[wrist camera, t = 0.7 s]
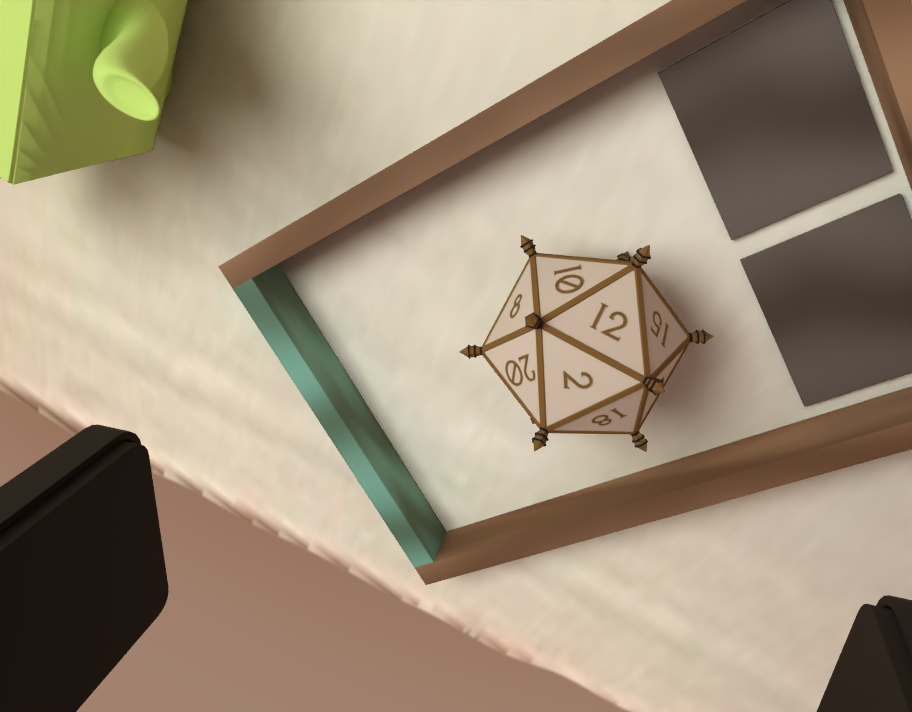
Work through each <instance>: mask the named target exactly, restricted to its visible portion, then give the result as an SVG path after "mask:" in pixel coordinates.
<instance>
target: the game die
mask: <svg viewBox="0 0 912 712" xmlns="http://www.w3.org/2000/svg"><path fill="white" fill-rule="evenodd" d="M532 241H533V239H532V240H530V239H528V238H526V237H524V236H522V235H521V246H520V247H521V248H523V249H524V253H525V252H526V253H527V254H528V255H529V259H528V261H527V263H526V265H525V267H524V269H523V271H522V272H521V274H520V276H519V278H518V280H517V282H516V284H515V285H514V287H513V289H512V291H511V293H510V295H509V297H508V299H507V300H506V302H505V304H504V306H503V308H502V310H501V312H500V314H499V315H498V317H497V319H496V321H495V323H494V325H493V327H492V329H491V330H490V332H489V334H488V336H487V338H486V340H485V342H484V344H483V345H482V347H478V346H476V345H474V346H470V345H468V347H466V348H465V349H463V350H461V351H460V353H462V354H464V355H466V356H467V357H469V359H470V357H475V358H476V356H479V355H483V357H484V358H485V359H486V360H487V362H488V363H489V364H490V366H491V367H492V368H493V369H494V371H495V372H496V373H497V375H498V376H499V377H500V378H501V380H502V381H503V382H504V384H505V385H506V386H507V387H508V389H509V390H510V391H511V393H512V394H513V395H514V397H515V398H516V399H517V400H518V402H519V403H520V404H521V406H522V407H523V408H524V409H525V411H526V412H527V413H528V415H529V416H530V417H531V420H532V424H534V423H535V424H536V425H537V426H538V427H539V429H540V430H539V431H538V432H536V433H535V437H534V438H532V442H533V443H534V452H535V451H536V450H538V449H540V448H541V447H543V446H546V444H545V443H546V441H548V438H547V436H548V433H583V434H631V435H632V438H633V440H632V442H634V443H635V447H638V448H640V449H642V450H644V451H646V452H647V442H648V441H647V440H646V439H645V438H644V437H645V436H644V435H643V434H641V433H640V432H639V429H640V428H641V426H642V424H643V422H644V421H645V419H646V417H647V416H648V414H649V412H650V410H651V409H652V407H653V405H654V403H655V402H656V400H657V398H658V397H659V395H660V393H662V392H665V391H664V386H665V384H666V383H667V381H668V379H669V377H670V376H671V374H672V372H673V371H674V369H675V367H676V365H677V364H678V362H679V360H680V358H681V357H682V355H683V353H684V352H685V350H686V348H687V346H688V345H689V343H690V342H695V343H697V344H699V343H703V344H705V342H706V341H708V340H709V339H711V338H712V337H714V336H712V335H710V334H708V333H707V332H705V331H704V330H703V329H702V331H697V330H696V331H695V332H693V333H689V332H688V331H687V330H686V328H685V327H684V326H683V324H682V323H681V321H680V320H679V319H678V317H677V316H676V314H675V313H674V312H673V310H672V309H671V308H670V306H669V305H668V303H667V302H666V301H665V299H664V298H663V297H662V295H661V294H660V292H659V291H658V290H657V288H656V287H655V286H654V284H653V283H652V281H651V280H650V279H649V277H648V276H647V275H646V273H645V272H644V270H643V269H642V268H641V266H642V265H643V264H647V260H648V259H651V257H650V245H648V246H646V247H644V248H639V249H638V250H637V251H636V252H637V253H636V254H635V255H634V256H633V258H634V260H633V262H631V261H630V257H629V255H628V252H625V253H624V254H623V253H622V254H620V255H618V256H617V257H618V259H617V260H609V259H597V258H586V257H575V256H564V255H553V254H542V253H537V252H536V251H535V246H536V245H534V244H533V242H532Z"/></svg>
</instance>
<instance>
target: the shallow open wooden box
mask: <svg viewBox="0 0 912 712" xmlns="http://www.w3.org/2000/svg"><path fill="white" fill-rule="evenodd" d="M744 1H746V0H672V1H670V2H668V3H666V4H665V5H663V6H661V7H660V8H658V9H656V10H655V11H653V12H651V13H649V14H648V15H646V16H644V17H643V18H641V19H639V20H638V21H636V22H634V23H632V24H631V25H629V26H627V27H626V28H624V29H622V30H620V31H619V32H617V33H615V34H614V35H612V36H610V37H609V38H607V39H605V40H603V41H602V42H600V43H598V44H597V45H595V46H593V47H592V48H590V49H588V50H586V51H585V52H583V53H581V54H580V55H578V56H576V57H574V58H573V59H571V60H569V61H568V62H566V63H564V64H563V65H561V66H559V67H557V68H556V69H554V70H552V71H551V72H549V73H547V74H546V75H544V76H542V77H540V78H539V79H537V80H535V81H534V82H532V83H530V84H529V85H527V86H525V87H523V88H522V89H520V90H518V91H517V92H515V93H513V94H511V95H510V96H508V97H506V98H505V99H503V100H501V101H500V102H498V103H496V104H494V105H493V106H491V107H489V108H488V109H486V110H484V111H483V112H481V113H479V114H477V115H476V116H474V117H472V118H471V119H469V120H467V121H465V122H464V123H462V124H460V125H459V126H457V127H455V128H454V129H452V130H450V131H448V132H447V133H445V134H443V135H442V136H440V137H438V138H437V139H435V140H433V141H431V142H430V143H428V144H426V145H425V146H423V147H421V148H419V149H418V150H416V151H414V152H413V153H411V154H409V155H408V156H406V157H404V158H402V159H401V160H399V161H397V162H396V163H394V164H392V165H391V166H389V167H387V168H385V169H384V170H382V171H380V172H379V173H377V174H375V175H373V176H372V177H370V178H368V179H367V180H365V181H363V182H362V183H360V184H358V185H356V186H355V187H353V188H351V189H350V190H348V191H346V192H345V193H343V194H341V195H339V196H338V197H336V198H334V199H333V200H331V201H329V202H327V203H326V204H324V205H322V206H321V207H319V208H317V209H316V210H314V211H312V212H310V213H309V214H307V215H305V216H304V217H302V218H300V219H299V220H297V221H295V222H293V223H292V224H290V225H288V226H287V227H285V228H283V229H281V230H280V231H278V232H276V233H275V234H273V235H271V236H270V237H268V238H266V239H264V240H263V241H261V242H259V243H258V244H256V245H254V246H253V247H251V248H249V249H247V250H246V251H244V252H242V253H241V254H239V255H237V256H236V257H234V258H232V259H230V260H229V261H227V262H225V263H224V264H222V265H220V266H218V267H219V268H220V270H221V271H222V273H223V274H224V276H225V277H226V279H227V280H228V282H229V284H230V285H231V287H232V288H233V290H234V291H235V293H236V294H237V296H238V297H239V299H240V300H241V302H242V303H243V305H244V307H245V308H246V310H247V311H248V313H249V314H250V316H251V317H252V319H253V320H254V322H255V323H256V325H257V327H258V328H259V330H260V331H261V333H262V334H263V336H264V337H265V339H266V340H267V342H268V343H269V345H270V346H271V348H272V350H273V351H274V353H275V354H276V356H277V357H278V359H279V360H280V362H281V363H282V365H283V366H284V368H285V369H286V371H287V373H288V374H289V376H290V377H291V379H292V380H293V382H294V383H295V385H296V386H297V388H298V389H299V391H300V392H301V394H302V396H303V397H304V399H305V400H306V402H307V403H308V405H309V406H310V408H311V409H312V411H313V412H314V414H315V415H316V417H317V419H318V420H319V422H320V423H321V425H322V426H323V428H324V429H325V431H326V432H327V434H328V435H329V437H330V439H331V440H332V442H333V443H334V445H335V446H336V448H337V449H338V451H339V452H340V454H341V455H342V457H343V458H344V460H345V462H346V463H347V465H348V466H349V468H350V469H351V471H352V472H353V474H354V475H355V477H356V478H357V480H358V481H359V483H360V485H361V486H362V488H363V489H364V491H365V492H366V494H367V495H368V497H369V498H370V500H371V501H372V503H373V504H374V506H375V508H376V509H377V511H378V512H379V514H380V515H381V517H382V518H383V520H384V521H385V523H386V524H387V526H388V527H389V529H390V531H391V532H392V534H393V535H394V537H395V538H396V540H397V541H398V543H399V544H400V546H401V547H402V549H403V551H404V552H405V554H406V555H407V557H408V558H409V560H410V561H411V563H412V564H413V566H414V567H415V569H416V570H417V572H418V574H419V575H420V577H421V578H422V580H423V581H424V583H425V584H426V585H427V584H431V583H435V582H438V581H442V580H445V579H449V578H452V577H456V576H460V575H463V574H467V573H470V572H474V571H477V570H481V569H485V568H488V567H492V566H495V565H499V564H503V563H506V562H510V561H513V560H517V559H520V558H524V557H528V556H531V555H535V554H538V553H542V552H545V551H549V550H553V549H556V548H560V547H563V546H567V545H570V544H574V543H578V542H581V541H585V540H588V539H592V538H595V537H599V536H603V535H606V534H610V533H613V532H617V531H620V530H624V529H628V528H631V527H635V526H638V525H642V524H645V523H649V522H653V521H656V520H660V519H663V518H667V517H670V516H674V515H678V514H681V513H685V512H688V511H692V510H695V509H699V508H703V507H706V506H710V505H713V504H717V503H720V502H724V501H728V500H731V499H735V498H738V497H742V496H745V495H749V494H753V493H756V492H760V491H763V490H767V489H770V488H774V487H778V486H781V485H785V484H788V483H792V482H795V481H799V480H803V479H806V478H810V477H813V476H817V475H820V474H824V473H828V472H831V471H835V470H838V469H842V468H846V467H849V466H853V465H856V464H860V463H863V462H867V461H871V460H874V459H878V458H881V457H885V456H888V455H892V454H896V453H899V452H903V451H906V450H910V449H912V387H909V388H906V389H902V390H899V391H896V392H893V393H890V394H886V395H883V396H880V397H877V398H874V399H870V400H867V401H864V402H861V403H858V404H854V405H851V406H848V407H845V408H842V409H838V410H835V411H832V412H829V413H826V414H822V415H819V416H816V417H813V418H809V419H806V420H803V421H800V422H797V423H793V424H790V425H787V426H784V427H781V428H777V429H774V430H771V431H768V432H765V433H761V434H758V435H755V436H752V437H749V438H745V439H742V440H739V441H736V442H733V443H729V444H726V445H723V446H720V447H717V448H713V449H710V450H707V451H704V452H701V453H697V454H694V455H691V456H688V457H685V458H681V459H678V460H675V461H672V462H669V463H665V464H662V465H659V466H656V467H653V468H649V469H646V470H643V471H640V472H637V473H633V474H630V475H627V476H624V477H621V478H617V479H614V480H611V481H608V482H605V483H601V484H598V485H595V486H592V487H589V488H585V489H582V490H579V491H576V492H573V493H569V494H566V495H563V496H560V497H557V498H553V499H550V500H547V501H544V502H541V503H537V504H534V505H531V506H528V507H525V508H521V509H518V510H515V511H512V512H509V513H505V514H502V515H499V516H496V517H493V518H489V519H486V520H483V521H480V522H477V523H473V524H470V525H467V526H464V527H461V528H457V529H454V530H451V531H448V532H446V531H445V529H444V528H443V526H442V525H441V523H440V521H439V520H438V518H437V517H436V515H435V513H434V512H433V510H432V509H431V507H430V505H429V504H428V502H427V501H426V499H425V497H424V496H423V494H422V493H421V491H420V489H419V488H418V486H417V485H416V483H415V481H414V480H413V478H412V477H411V475H410V473H409V472H408V470H407V469H406V467H405V466H404V464H403V462H402V461H401V459H400V458H399V456H398V454H397V453H396V451H395V450H394V448H393V446H392V445H391V443H390V442H389V440H388V438H387V437H386V435H385V434H384V432H383V430H382V429H381V427H380V426H379V424H378V422H377V421H376V419H375V418H374V416H373V414H372V413H371V411H370V410H369V408H368V406H367V405H366V403H365V402H364V400H363V399H362V397H361V395H360V394H359V392H358V391H357V389H356V387H355V386H354V384H353V383H352V381H351V379H350V378H349V376H348V375H347V373H346V371H345V370H344V368H343V367H342V365H341V363H340V362H339V360H338V359H337V357H336V355H335V354H334V352H333V351H332V349H331V347H330V346H329V344H328V343H327V341H326V339H325V338H324V336H323V335H322V333H321V332H320V330H319V328H318V327H317V325H316V324H315V322H314V320H313V319H312V317H311V316H310V314H309V312H308V311H307V309H306V308H305V306H304V304H303V303H302V301H301V300H300V298H299V296H298V295H297V293H296V292H295V290H294V288H293V287H292V285H291V284H290V282H289V280H288V279H287V277H286V276H285V274H284V272H283V271H282V269H281V268H280V266H279V265H278V263H280V262H282V261H284V260H285V259H287V258H289V257H291V256H293V255H294V254H296V253H298V252H300V251H301V250H303V249H305V248H307V247H309V246H310V245H312V244H314V243H316V242H317V241H319V240H321V239H323V238H325V237H326V236H328V235H330V234H332V233H333V232H335V231H337V230H339V229H341V228H342V227H344V226H346V225H348V224H349V223H351V222H353V221H355V220H357V219H358V218H360V217H362V216H364V215H365V214H367V213H369V212H371V211H373V210H374V209H376V208H378V207H380V206H381V205H383V204H385V203H387V202H389V201H390V200H392V199H394V198H396V197H398V196H399V195H401V194H403V193H405V192H406V191H408V190H410V189H412V188H414V187H415V186H417V185H419V184H421V183H422V182H424V181H426V180H428V179H430V178H431V177H433V176H435V175H437V174H438V173H440V172H442V171H444V170H446V169H447V168H449V167H451V166H453V165H454V164H456V163H458V162H460V161H462V160H463V159H465V158H467V157H469V156H470V155H472V154H474V153H476V152H478V151H479V150H481V149H483V148H485V147H486V146H488V145H490V144H492V143H494V142H495V141H497V140H499V139H501V138H502V137H504V136H506V135H508V134H510V133H511V132H513V131H515V130H517V129H518V128H520V127H522V126H524V125H526V124H527V123H529V122H531V121H533V120H535V119H536V118H538V117H540V116H542V115H543V114H545V113H547V112H549V111H551V110H552V109H554V108H556V107H558V106H559V105H561V104H563V103H565V102H567V101H568V100H570V99H572V98H574V97H575V96H577V95H579V94H581V93H583V92H584V91H586V90H588V89H590V88H591V87H593V86H595V85H597V84H599V83H600V82H602V81H604V80H606V79H607V78H609V77H611V76H613V75H615V74H616V73H618V72H620V71H622V70H623V69H625V68H627V67H629V66H631V65H632V64H634V63H636V62H638V61H639V60H641V59H643V58H645V57H647V56H648V55H650V54H652V53H654V52H655V51H657V50H659V49H661V48H663V47H664V46H666V45H668V44H670V43H672V42H673V41H675V40H677V39H679V38H680V37H682V36H684V35H686V34H688V33H689V32H691V31H693V30H695V29H696V28H698V27H700V26H702V25H704V24H705V23H707V22H709V21H711V20H712V19H714V18H716V17H718V16H720V15H721V14H723V13H725V12H727V11H728V10H730V9H732V8H734V7H736V6H737V5H739V4H741V3H743V2H744ZM844 3H845V6H846V9H847V12H848V14H849V17H850V20H851V23H852V25H853V28H854V31H855V34H856V37H857V39H858V42H859V45H860V48H861V51H862V53H863V56H864V59H865V62H866V64H867V67H868V70H869V73H870V76H871V78H872V81H873V84H874V87H875V90H876V92H877V95H878V98H879V101H880V103H881V106H882V109H883V112H884V115H885V117H886V120H887V123H888V126H889V129H890V131H891V134H892V137H893V140H894V142H895V145H896V148H897V151H898V154H899V156H900V159H901V162H902V165H903V168H904V170H905V173H906V176H907V179H908V181H909V184H910V187H911V190H912V3H911V0H844ZM658 74H659V76H660V79H661V81H662V83H663V85H664V88H665V90H666V92H667V95H668V97H669V99H670V101H671V104H672V106H673V108H674V111H675V113H676V115H677V117H678V120H679V122H680V124H681V126H682V129H683V131H684V133H685V136H686V138H687V140H688V142H689V145H690V147H691V149H692V152H693V154H694V156H695V158H696V161H697V163H698V165H699V168H700V170H701V172H702V174H703V177H704V179H705V181H706V183H707V186H708V188H709V190H710V193H711V195H712V197H713V199H714V202H715V204H716V206H717V209H718V211H719V213H720V215H721V218H722V220H723V222H724V225H725V227H726V229H727V231H728V234H729V236H730V238H731V240H733V239H736V238H738V237H740V236H743V235H745V234H747V233H750V232H752V231H754V230H757V229H759V228H761V227H764V226H766V225H768V224H771V223H773V222H775V221H778V220H780V219H782V218H785V217H787V216H789V215H792V214H794V213H796V212H799V211H801V210H803V209H806V208H808V207H810V206H813V205H815V204H817V203H820V202H822V201H824V200H827V199H829V198H831V197H834V196H836V195H838V194H841V193H843V192H845V191H848V190H850V189H852V188H855V187H857V186H859V185H862V184H864V183H866V182H869V181H871V180H873V179H876V178H878V177H880V176H883V175H885V174H887V173H889V172H892V171H893V170H892V167H891V164H890V161H889V159H888V156H887V153H886V150H885V148H884V145H883V142H882V139H881V137H880V134H879V131H878V128H877V126H876V123H875V120H874V117H873V115H872V112H871V109H870V106H869V104H868V101H867V98H866V95H865V93H864V90H863V87H862V84H861V82H860V79H859V76H858V73H857V71H856V68H855V65H854V62H853V60H852V57H851V54H850V51H849V49H848V46H847V43H846V40H845V38H844V35H843V32H842V29H841V27H840V24H839V21H838V18H837V16H836V13H835V10H834V7H833V5H832V2H831V0H790V1H788V2H786V3H784V4H783V5H781V6H779V7H777V8H775V9H773V10H772V11H770V12H768V13H766V14H764V15H763V16H761V17H759V18H757V19H755V20H753V21H752V22H750V23H748V24H746V25H744V26H742V27H741V28H739V29H737V30H735V31H733V32H732V33H730V34H728V35H726V36H724V37H722V38H721V39H719V40H717V41H715V42H713V43H711V44H710V45H708V46H706V47H704V48H702V49H701V50H699V51H697V52H695V53H693V54H691V55H690V56H688V57H686V58H684V59H682V60H680V61H679V62H677V63H675V64H673V65H671V66H670V67H668V68H666V69H664V70H662V71H660V72H659V73H658ZM740 261H741V263H742V266H743V268H744V270H745V272H746V275H747V277H748V279H749V281H750V284H751V286H752V288H753V291H754V293H755V295H756V297H757V300H758V302H759V304H760V307H761V309H762V311H763V313H764V316H765V318H766V320H767V323H768V325H769V327H770V329H771V332H772V334H773V336H774V338H775V341H776V343H777V345H778V348H779V350H780V352H781V354H782V357H783V359H784V361H785V364H786V366H787V368H788V370H789V373H790V375H791V377H792V379H793V382H794V384H795V386H796V389H797V391H798V393H799V395H800V398H801V400H802V402H803V405H804V407H805V406H808V405H811V404H814V403H818V402H821V401H824V400H827V399H830V398H833V397H836V396H839V395H843V394H846V393H849V392H852V391H855V390H858V389H861V388H864V387H868V386H871V385H874V384H877V383H880V382H883V381H886V380H889V379H893V378H896V377H899V376H902V375H905V374H908V373H911V372H912V222H911V219H910V216H909V214H908V211H907V208H906V205H905V203H904V200H903V197H902V195H901V194H897V195H895V196H892V197H890V198H887V199H885V200H883V201H880V202H878V203H875V204H873V205H871V206H868V207H866V208H863V209H861V210H859V211H856V212H854V213H851V214H849V215H847V216H844V217H842V218H839V219H837V220H835V221H832V222H830V223H827V224H825V225H823V226H820V227H818V228H815V229H813V230H810V231H808V232H806V233H803V234H801V235H798V236H796V237H794V238H791V239H789V240H786V241H784V242H782V243H779V244H777V245H774V246H772V247H770V248H767V249H765V250H762V251H760V252H758V253H755V254H753V255H750V256H748V257H746V258H743V259H741V260H740Z"/></svg>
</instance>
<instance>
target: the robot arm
mask: <svg viewBox="0 0 912 712" xmlns="http://www.w3.org/2000/svg"><path fill="white" fill-rule="evenodd" d="M167 597H168V582H167V575H166V568H165V561H164V555H163V547H162V541H161V534H160V528H159V520H158V514H157V507H156V500H155V493H154V486H153V480H152V473H151V466H150V459H149V454H148V450H147V449H146V447H145V446H143V445H141V442H140V439H139V438H138V436H137V435H136V434H134V433H132V432H129V431H125V430H120V429H115V428H111V427H106V426H102V425H91V426H89V427H87V428H85V429H84V430H82V431H81V432H79V433H78V434H76V435H75V436H73V437H72V438H71V439H69V440H68V441H67V442H65V443H63V444H62V445H61V446H59V447H58V448H56V449H55V450H53V451H52V452H50V453H49V454H48V455H46V456H45V457H43V458H42V459H40V460H39V461H37V462H36V463H35V464H33V465H32V466H30V467H29V468H27V469H26V470H24V471H23V472H22V473H20V474H19V475H17V476H16V477H14V478H13V479H11V480H10V481H9V482H7V483H6V484H4V485H3V486H1V487H0V712H76V711H77V710H78V709H79V708H80V706H81V705H82V704H83V703H84V702H85V701H86V699H87V698H88V697H89V696H90V695H91V694H92V692H93V691H94V690H95V689H96V688H97V686H98V685H99V684H100V683H101V682H102V681H103V679H105V677H106V676H107V675H108V674H109V672H111V670H112V669H113V668H114V667H115V666H116V665H117V663H118V662H119V661H120V660H121V659H122V658H123V656H124V655H125V654H126V653H127V651H129V649H130V648H131V647H132V646H133V645H134V644H135V642H136V641H137V640H138V639H139V638H140V636H141V635H142V634H143V633H144V632H145V630H147V628H148V627H149V626H150V625H151V624H152V623H153V621H154V620H155V619H156V618H157V617H158V616H159V614H160V613H161V611H162V609H163V608H164V606H165V603H166V600H167ZM817 712H912V600H908V599H903V598H898V597H894V596H883V597H882V598H881V599H880V600H879V601H878V603H877V605H876V606H874V605H870V604H864V605H863V606H862V607H861V608H860V609H859V611H858V613H857V616H856V618H855V621H854V623H853V625H852V628H851V630H850V633H849V635H848V637H847V640H846V642H845V645H844V647H843V649H842V652H841V654H840V657H839V659H838V661H837V664H836V666H835V669H834V671H833V674H832V676H831V678H830V681H829V683H828V686H827V688H826V690H825V693H824V695H823V698H822V700H821V702H820V705H819V707H818V710H817Z"/></svg>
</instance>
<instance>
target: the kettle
mask: <svg viewBox="0 0 912 712" xmlns="http://www.w3.org/2000/svg"><path fill="white" fill-rule="evenodd" d="M187 2H188V0H0V178H2V179H4V180H5V181H7V182H9V183H12V184H13V185H14V184H18V183H22V182H26V181H30V180H34V179H38V178H42V177H46V176H50V175H54V174H58V173H63V172H67V171H71V170H75V169H79V168H83V167H87V166H91V165H95V164H99V163H103V162H107V161H111V160H115V159H119V158H123V157H127V156H131V155H135V154H140V153H144V152H148V151H152V150H153V149H154V145H155V140H156V136H157V132H158V127H159V123H160V119H161V115H162V110H163V106H164V102H165V98H166V97H167V96H168V95H169V93H170V91H171V88H172V74H171V71H172V67H173V63H174V58H175V54H176V50H177V45H178V41H179V37H180V32H181V28H182V24H183V19H184V15H185V11H186V6H187Z"/></svg>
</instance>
